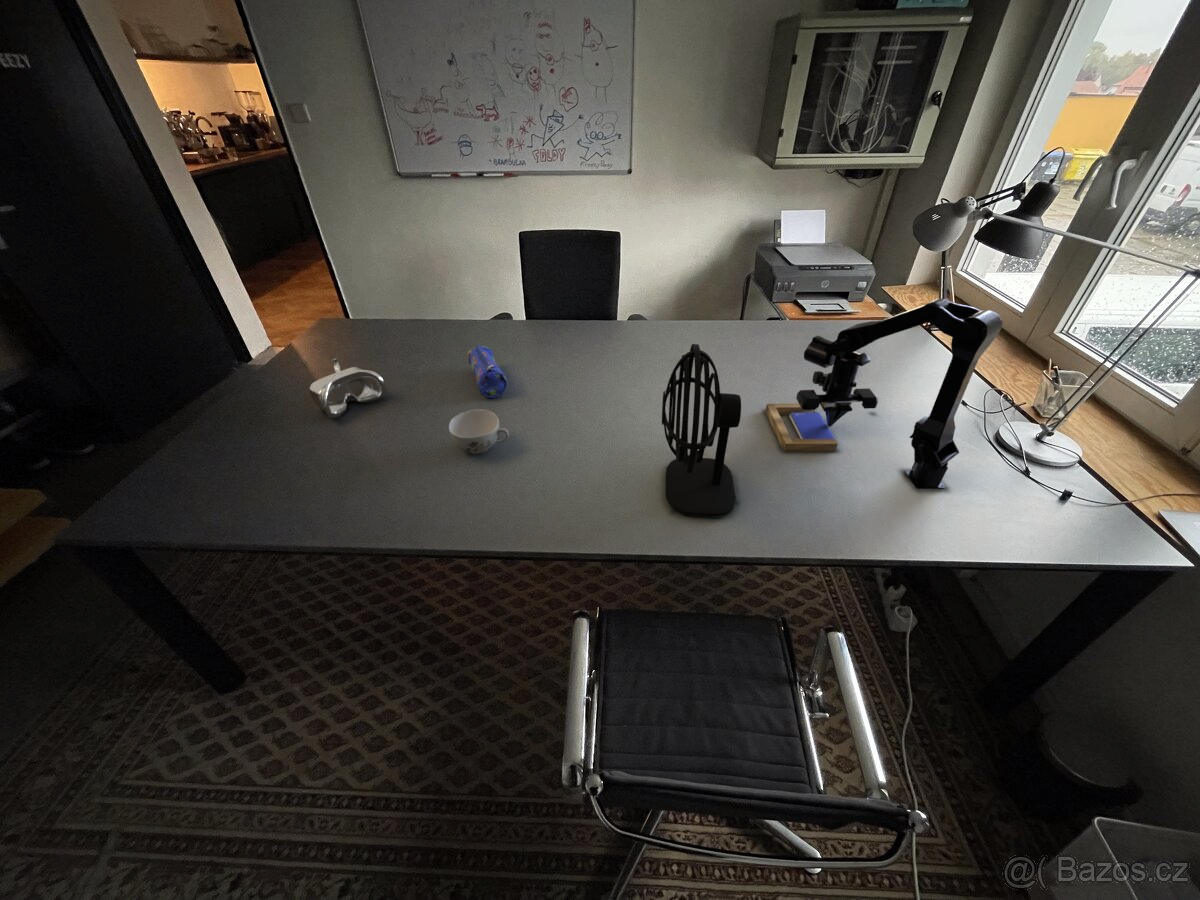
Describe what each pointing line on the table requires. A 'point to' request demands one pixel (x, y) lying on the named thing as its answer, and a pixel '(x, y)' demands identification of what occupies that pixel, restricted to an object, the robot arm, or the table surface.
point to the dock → (783, 435)
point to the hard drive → (811, 426)
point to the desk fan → (692, 477)
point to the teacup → (476, 430)
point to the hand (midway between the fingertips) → (828, 426)
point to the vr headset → (346, 389)
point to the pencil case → (486, 371)
